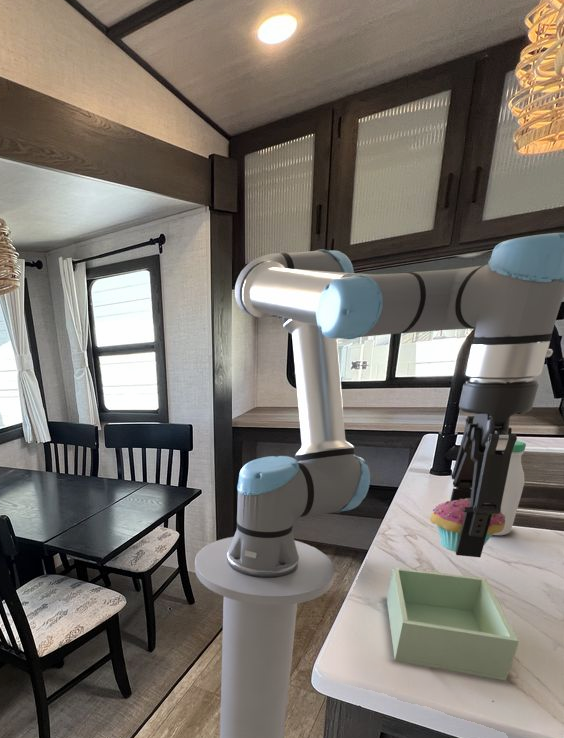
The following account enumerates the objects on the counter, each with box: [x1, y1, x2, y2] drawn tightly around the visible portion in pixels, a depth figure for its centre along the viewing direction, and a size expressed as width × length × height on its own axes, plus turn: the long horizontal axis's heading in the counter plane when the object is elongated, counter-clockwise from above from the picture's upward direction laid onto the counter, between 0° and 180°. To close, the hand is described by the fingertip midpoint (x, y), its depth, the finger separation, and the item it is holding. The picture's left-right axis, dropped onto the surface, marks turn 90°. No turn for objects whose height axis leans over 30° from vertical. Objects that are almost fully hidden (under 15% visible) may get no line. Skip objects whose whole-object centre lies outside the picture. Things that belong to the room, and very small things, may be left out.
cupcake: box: [429, 498, 505, 553], centre depth 66 cm, size 9×8×12 cm
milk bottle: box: [492, 440, 527, 536], centre depth 102 cm, size 8×8×20 cm
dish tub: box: [386, 567, 520, 682], centre depth 72 cm, size 18×13×7 cm
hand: (460, 541), depth 68 cm, fingers closed on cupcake, 8 cm apart
